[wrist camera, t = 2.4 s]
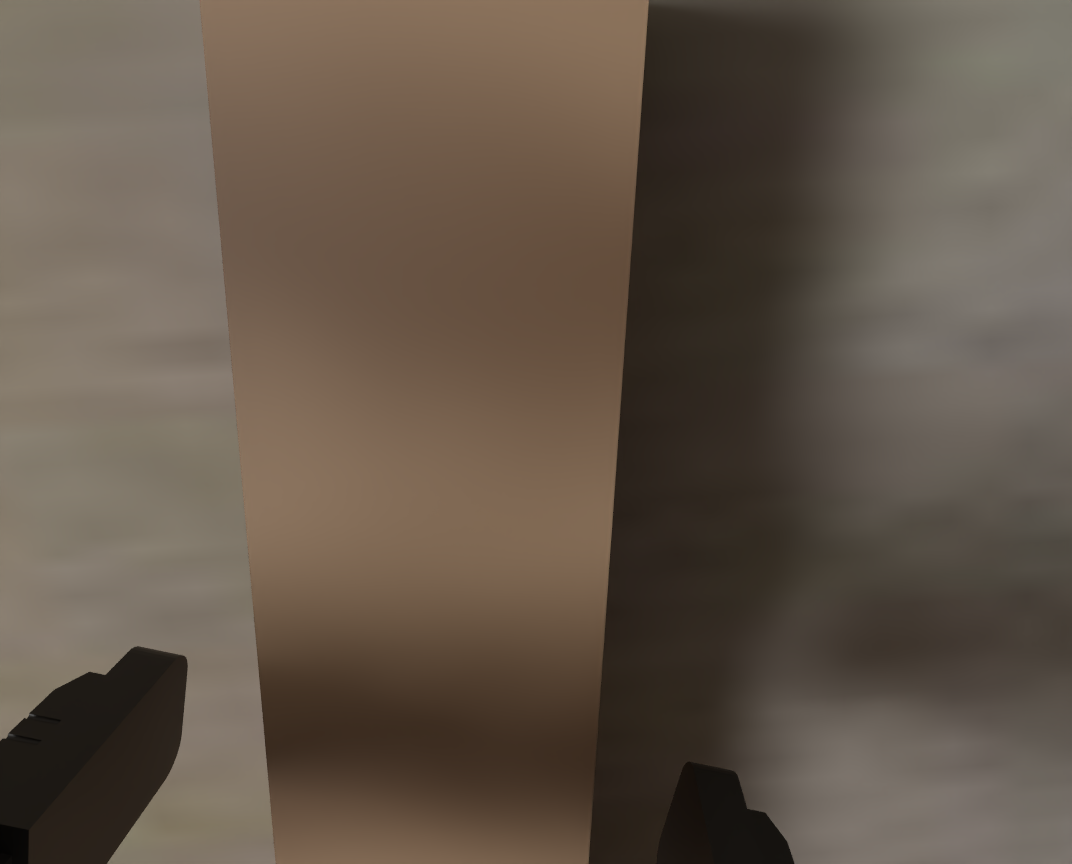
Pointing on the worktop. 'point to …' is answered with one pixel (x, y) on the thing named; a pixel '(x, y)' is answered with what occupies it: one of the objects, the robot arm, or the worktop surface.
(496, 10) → the walnut bar
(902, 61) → the worktop surface
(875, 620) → the worktop surface
